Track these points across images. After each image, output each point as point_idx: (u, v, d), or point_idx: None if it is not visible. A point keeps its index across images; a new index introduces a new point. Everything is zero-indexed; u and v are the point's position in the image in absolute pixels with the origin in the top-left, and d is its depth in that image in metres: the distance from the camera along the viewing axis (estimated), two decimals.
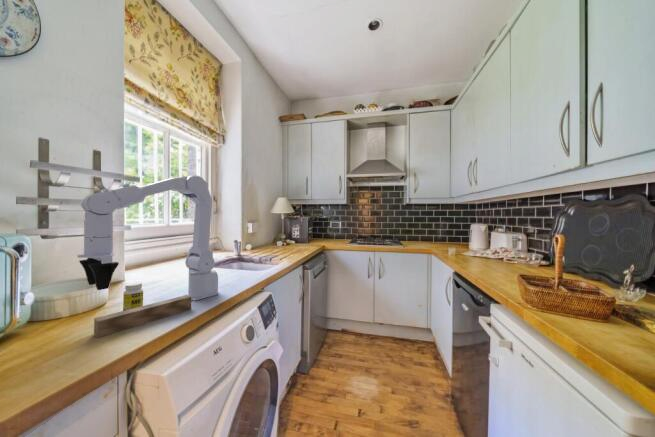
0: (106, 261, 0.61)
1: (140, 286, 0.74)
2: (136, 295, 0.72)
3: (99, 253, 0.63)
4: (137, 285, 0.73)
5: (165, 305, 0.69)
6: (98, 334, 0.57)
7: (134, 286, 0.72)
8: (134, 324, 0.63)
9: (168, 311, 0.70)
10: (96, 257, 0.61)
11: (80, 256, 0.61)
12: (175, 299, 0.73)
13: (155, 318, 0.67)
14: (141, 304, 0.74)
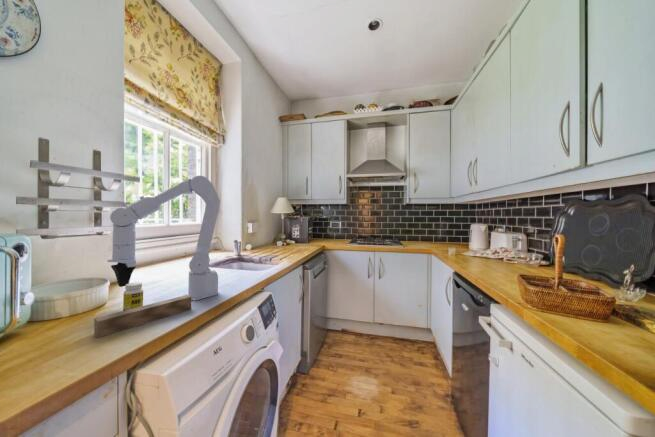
0: (131, 265, 0.74)
1: (140, 286, 0.74)
2: (136, 295, 0.72)
3: (125, 258, 0.76)
4: (137, 285, 0.73)
5: (165, 305, 0.69)
6: (98, 334, 0.57)
7: (134, 286, 0.72)
8: (134, 324, 0.63)
9: (168, 311, 0.70)
10: (123, 262, 0.74)
11: (110, 261, 0.74)
12: (175, 299, 0.73)
13: (155, 318, 0.67)
14: (141, 304, 0.74)
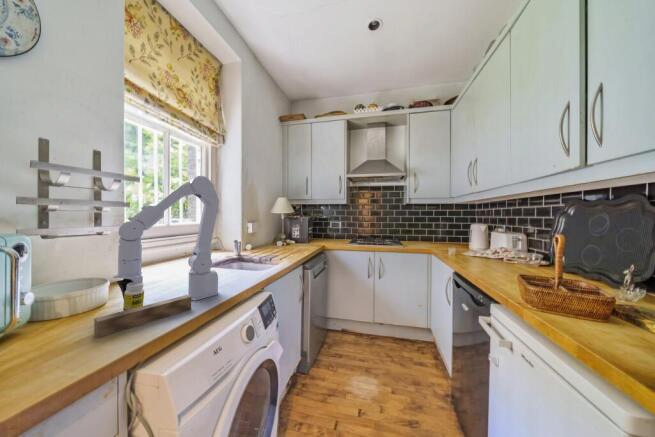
0: (137, 281, 0.71)
1: (141, 287, 0.73)
2: (137, 296, 0.72)
3: (131, 274, 0.73)
4: (138, 286, 0.72)
5: (165, 305, 0.69)
6: (98, 334, 0.57)
7: (135, 287, 0.71)
8: (134, 324, 0.63)
9: (168, 311, 0.70)
10: (129, 278, 0.71)
11: (115, 277, 0.71)
12: (175, 299, 0.73)
13: (155, 318, 0.67)
14: (141, 304, 0.74)
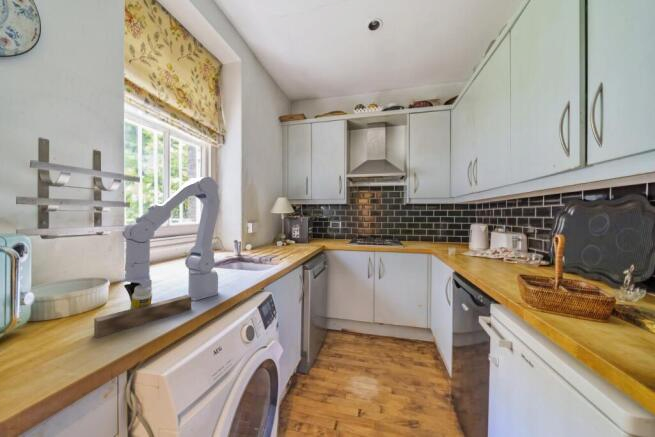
0: (146, 285, 0.67)
1: (149, 291, 0.69)
2: (144, 301, 0.68)
3: (139, 277, 0.70)
4: (146, 291, 0.68)
5: (165, 305, 0.69)
6: (98, 334, 0.57)
7: (143, 292, 0.67)
8: (134, 324, 0.63)
9: (168, 311, 0.70)
10: (137, 281, 0.68)
11: (123, 280, 0.68)
12: (175, 299, 0.73)
13: (155, 318, 0.67)
14: None
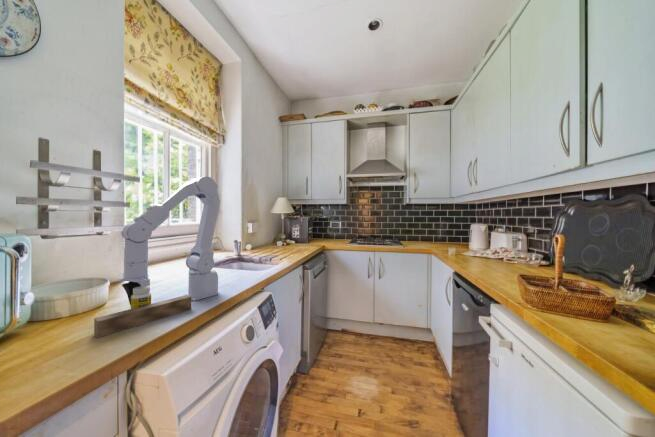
0: (145, 284, 0.68)
1: (148, 290, 0.70)
2: (143, 300, 0.68)
3: (137, 277, 0.70)
4: (144, 289, 0.69)
5: (165, 305, 0.69)
6: (98, 334, 0.57)
7: (141, 290, 0.68)
8: (134, 324, 0.63)
9: (168, 311, 0.70)
10: (136, 281, 0.69)
11: (121, 280, 0.69)
12: (175, 299, 0.73)
13: (155, 318, 0.67)
14: None
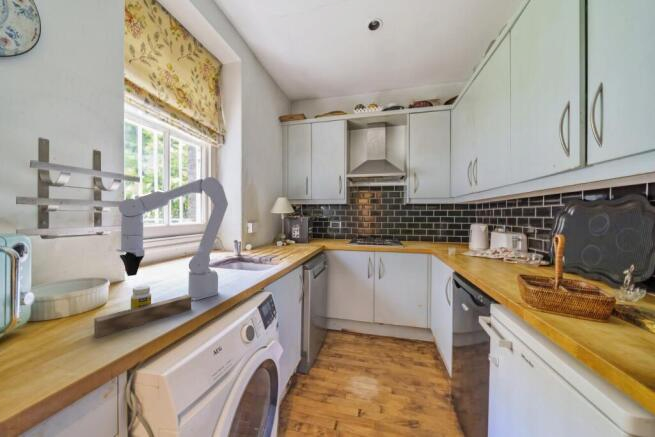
0: (140, 254, 0.75)
1: (148, 290, 0.70)
2: (143, 300, 0.68)
3: (133, 248, 0.77)
4: (144, 289, 0.69)
5: (165, 305, 0.69)
6: (98, 334, 0.57)
7: (141, 290, 0.68)
8: (134, 324, 0.63)
9: (168, 311, 0.70)
10: (132, 251, 0.76)
11: (119, 250, 0.76)
12: (175, 299, 0.73)
13: (155, 318, 0.67)
14: None
